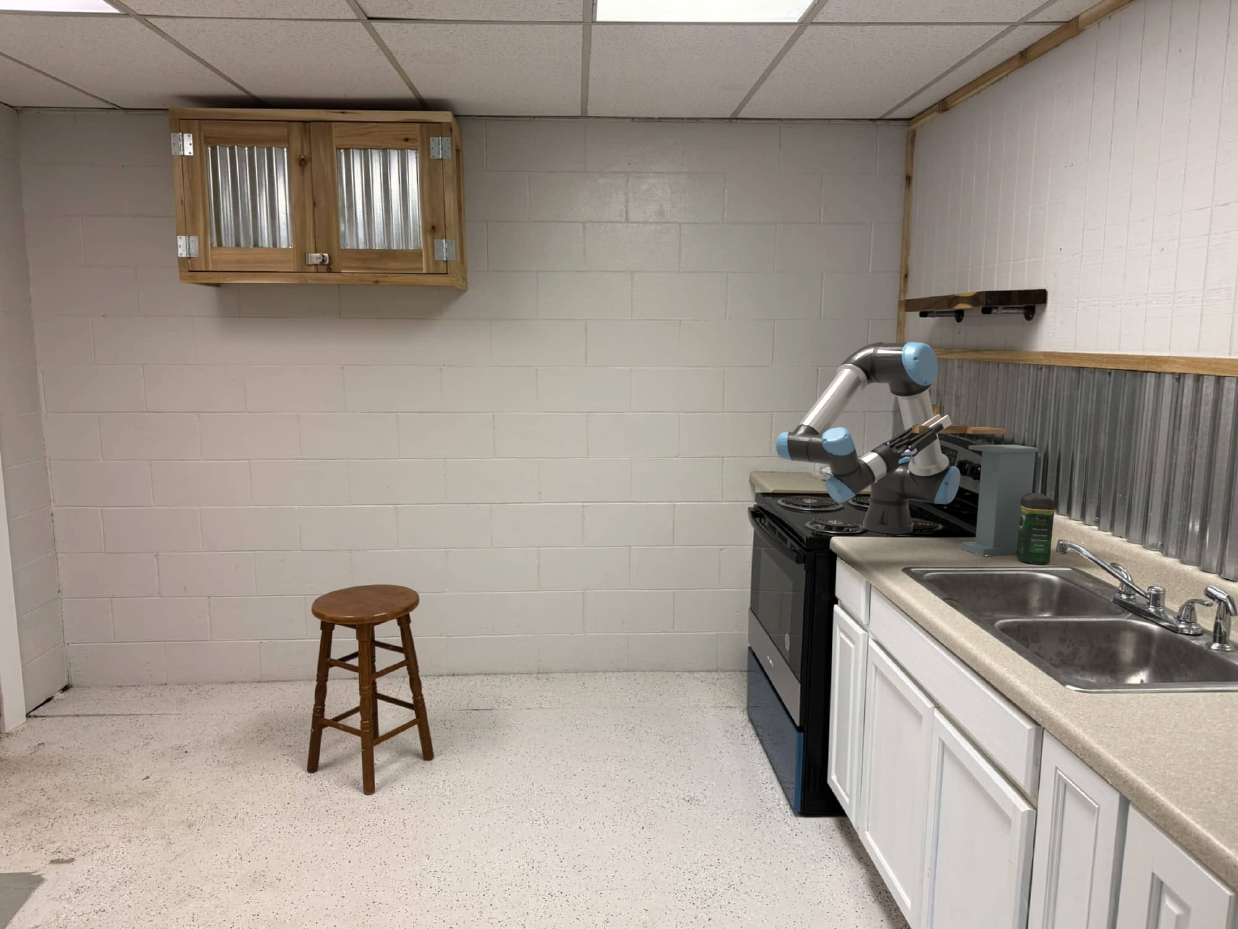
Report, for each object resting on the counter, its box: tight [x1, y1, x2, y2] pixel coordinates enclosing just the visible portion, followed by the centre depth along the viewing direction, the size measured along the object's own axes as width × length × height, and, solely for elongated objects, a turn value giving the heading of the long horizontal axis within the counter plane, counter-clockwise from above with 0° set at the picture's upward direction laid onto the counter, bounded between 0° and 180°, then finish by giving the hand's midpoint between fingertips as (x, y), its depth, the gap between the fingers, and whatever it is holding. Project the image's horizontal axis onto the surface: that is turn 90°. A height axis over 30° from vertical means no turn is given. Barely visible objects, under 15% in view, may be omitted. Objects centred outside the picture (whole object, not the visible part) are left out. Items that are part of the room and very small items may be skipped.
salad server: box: [912, 424, 1007, 435], centre depth 234 cm, size 8×26×2 cm, turn 108°
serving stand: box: [960, 444, 1040, 557], centre depth 241 cm, size 9×16×30 cm, turn 108°
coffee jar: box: [1015, 492, 1056, 565], centre depth 231 cm, size 10×8×19 cm
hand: (944, 419), depth 232 cm, fingers closed on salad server, 3 cm apart
